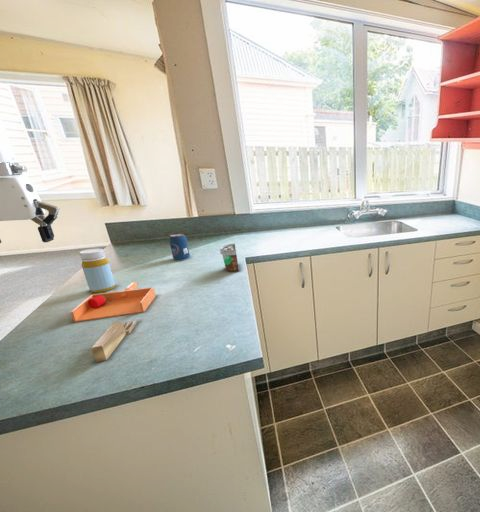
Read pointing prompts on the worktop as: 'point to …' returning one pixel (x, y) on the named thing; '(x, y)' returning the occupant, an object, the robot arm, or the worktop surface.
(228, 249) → the food container
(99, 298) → the strawberry
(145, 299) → the dustpan
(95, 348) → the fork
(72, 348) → the worktop surface
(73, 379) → the worktop surface
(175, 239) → the soda can
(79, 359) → the worktop surface
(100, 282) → the bottle
